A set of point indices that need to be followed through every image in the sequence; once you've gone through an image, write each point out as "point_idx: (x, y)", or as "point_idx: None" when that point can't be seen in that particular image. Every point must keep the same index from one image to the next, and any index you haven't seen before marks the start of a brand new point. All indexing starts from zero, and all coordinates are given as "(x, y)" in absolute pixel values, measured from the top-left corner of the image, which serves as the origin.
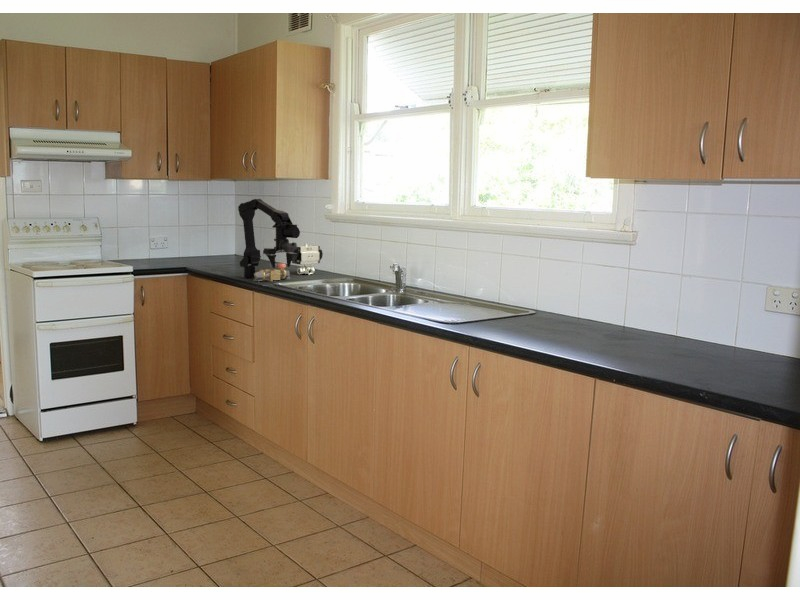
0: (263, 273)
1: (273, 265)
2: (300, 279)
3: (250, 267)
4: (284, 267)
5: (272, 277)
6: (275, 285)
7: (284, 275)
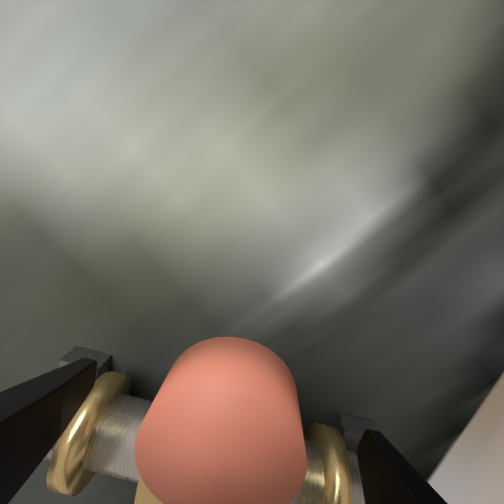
0: (349, 477)
1: (410, 478)
2: (13, 286)
3: None
4: (232, 346)
5: None
6: (452, 213)
7: (118, 381)
